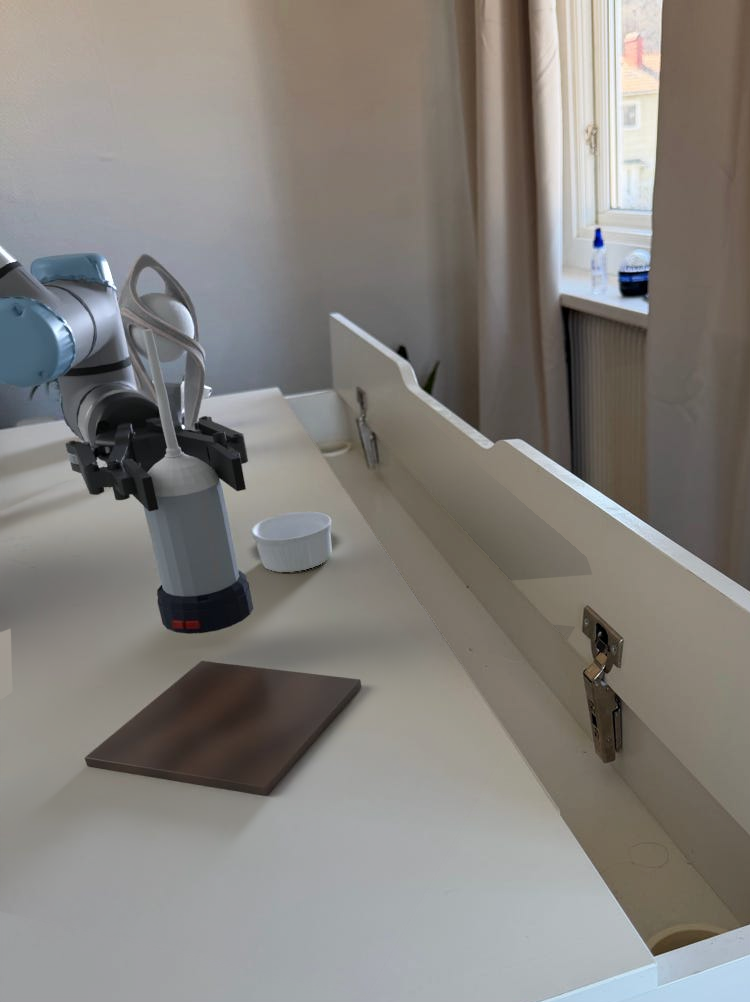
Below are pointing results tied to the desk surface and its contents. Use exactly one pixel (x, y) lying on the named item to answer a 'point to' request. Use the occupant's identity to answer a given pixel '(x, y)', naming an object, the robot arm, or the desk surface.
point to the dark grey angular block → (179, 399)
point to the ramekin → (293, 541)
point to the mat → (227, 726)
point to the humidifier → (191, 535)
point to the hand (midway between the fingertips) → (195, 484)
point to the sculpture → (163, 333)
